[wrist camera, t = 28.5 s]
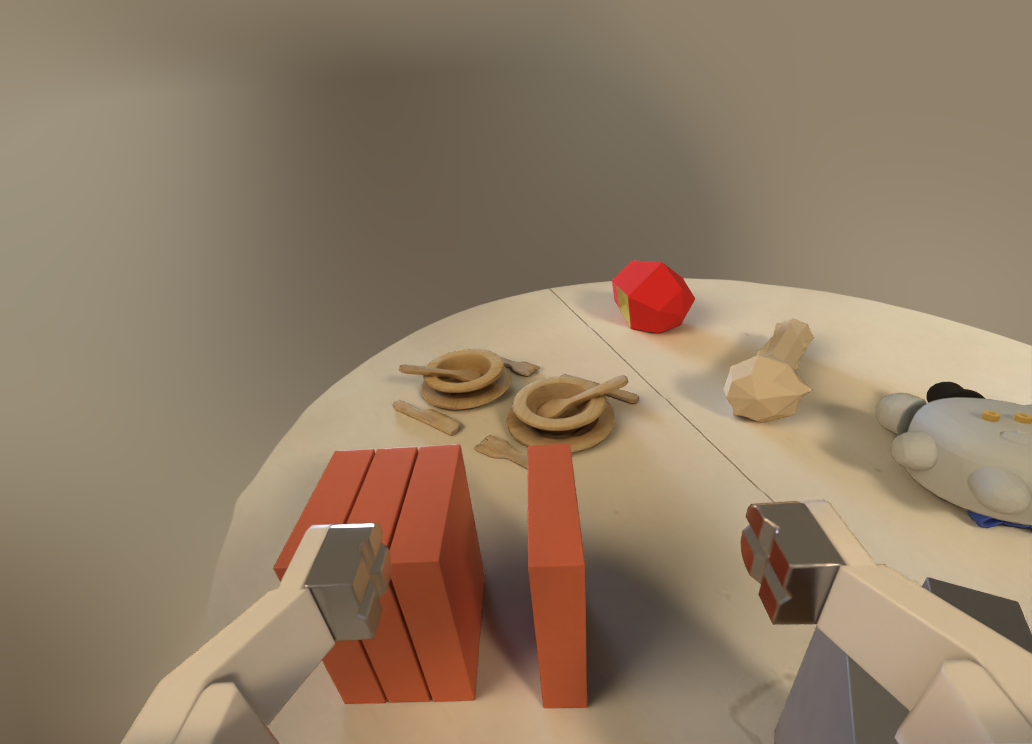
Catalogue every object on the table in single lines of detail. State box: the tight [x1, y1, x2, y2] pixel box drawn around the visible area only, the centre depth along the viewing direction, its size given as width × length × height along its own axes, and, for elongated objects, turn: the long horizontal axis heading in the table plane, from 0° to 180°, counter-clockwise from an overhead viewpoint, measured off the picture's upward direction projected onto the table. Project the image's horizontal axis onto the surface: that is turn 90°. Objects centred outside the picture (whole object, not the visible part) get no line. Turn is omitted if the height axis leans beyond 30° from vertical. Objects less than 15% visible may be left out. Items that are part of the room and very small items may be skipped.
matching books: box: [273, 444, 485, 704], centre depth 34 cm, size 10×9×15 cm
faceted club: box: [724, 318, 814, 423], centre depth 62 cm, size 9×8×25 cm
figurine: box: [876, 382, 1032, 529], centre depth 46 cm, size 17×8×20 cm
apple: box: [612, 261, 695, 333], centre depth 80 cm, size 12×12×15 cm
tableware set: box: [393, 349, 639, 469], centre depth 63 cm, size 30×20×6 cm, turn 53°
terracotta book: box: [528, 443, 587, 708], centre depth 33 cm, size 10×3×15 cm, turn 179°
